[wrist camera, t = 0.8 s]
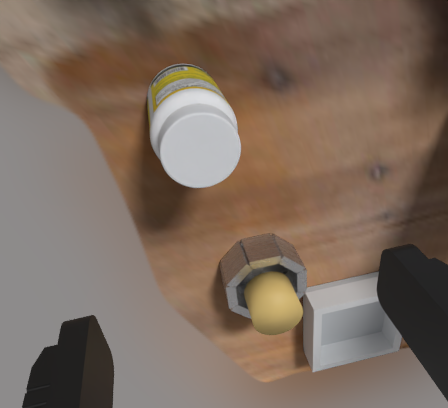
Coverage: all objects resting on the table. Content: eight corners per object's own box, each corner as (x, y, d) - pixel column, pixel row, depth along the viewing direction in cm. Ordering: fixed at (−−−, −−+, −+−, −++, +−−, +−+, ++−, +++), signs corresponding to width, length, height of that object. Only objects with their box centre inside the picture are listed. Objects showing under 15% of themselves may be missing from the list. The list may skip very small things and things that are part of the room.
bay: (396, 267, 39) (412, 287, 36) (385, 330, 44) (398, 350, 42) (303, 288, 38) (314, 310, 35) (303, 349, 43) (312, 372, 41)
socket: (294, 227, 33) (306, 250, 31) (295, 284, 37) (306, 308, 35) (216, 244, 33) (222, 268, 30) (225, 300, 36) (231, 325, 34)
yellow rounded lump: (290, 266, 32) (303, 293, 29) (290, 300, 34) (303, 328, 31) (241, 277, 31) (251, 305, 29) (245, 310, 33) (254, 339, 31)
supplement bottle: (201, 142, 28) (223, 206, 21) (136, 119, 26) (136, 181, 19) (230, 78, 26) (265, 125, 19) (162, 49, 24) (172, 89, 17)
